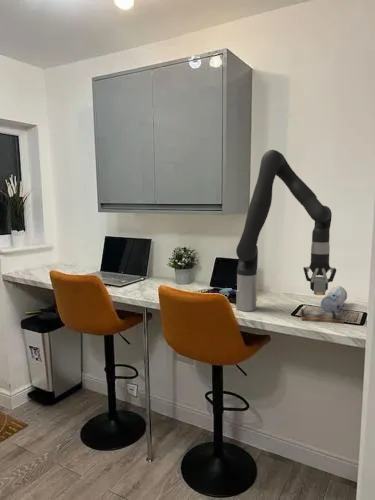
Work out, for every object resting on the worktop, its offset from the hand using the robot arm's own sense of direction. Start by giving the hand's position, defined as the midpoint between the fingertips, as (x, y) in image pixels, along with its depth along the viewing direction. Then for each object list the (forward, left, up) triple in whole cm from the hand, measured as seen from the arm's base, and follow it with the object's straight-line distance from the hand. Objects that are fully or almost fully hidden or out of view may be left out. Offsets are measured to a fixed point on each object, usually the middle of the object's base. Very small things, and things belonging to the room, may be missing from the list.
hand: (318, 290), depth 159 cm
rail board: (+1, 0, -13) cm, 13 cm away
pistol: (-40, +33, -13) cm, 53 cm away
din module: (0, 0, -1) cm, 1 cm away
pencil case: (+9, +16, -13) cm, 23 cm away
